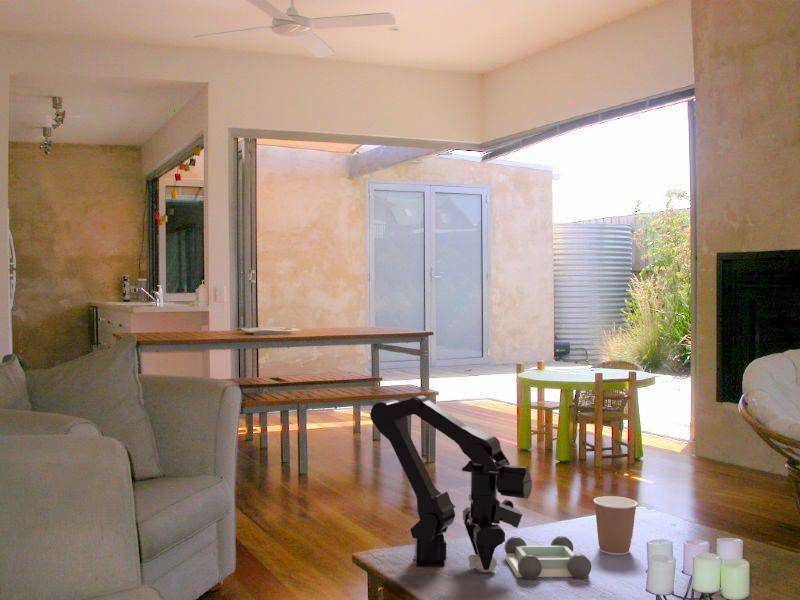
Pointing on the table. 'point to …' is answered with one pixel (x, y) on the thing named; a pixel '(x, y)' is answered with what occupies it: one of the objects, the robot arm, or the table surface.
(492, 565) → the white figurine
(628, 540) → the coffee cup
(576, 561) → the toy chassis
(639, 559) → the table surface
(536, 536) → the table surface
